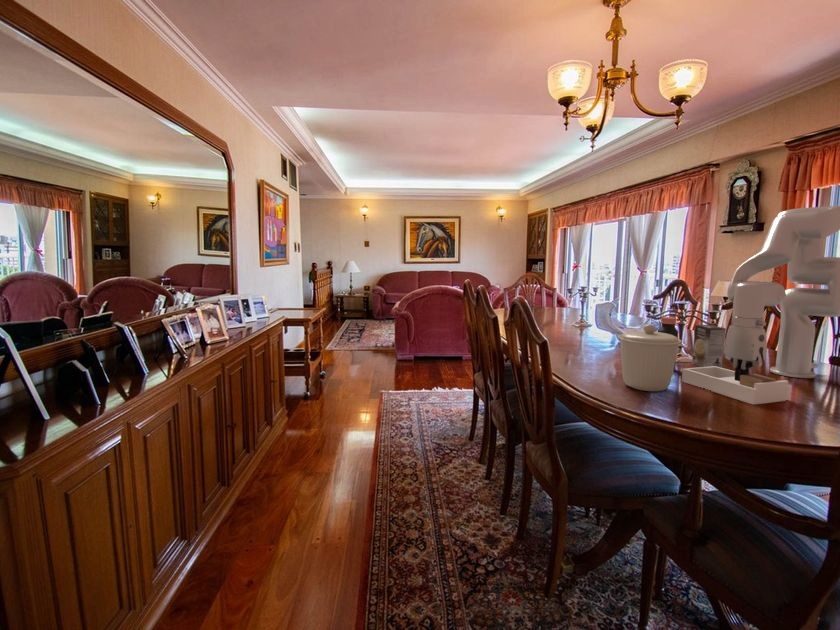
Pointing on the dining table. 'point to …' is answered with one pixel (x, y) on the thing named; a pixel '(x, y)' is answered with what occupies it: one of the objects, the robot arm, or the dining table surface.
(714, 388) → the box
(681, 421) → the dining table surface
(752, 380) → the walnut block
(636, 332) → the canister
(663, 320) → the bottle
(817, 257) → the robot arm
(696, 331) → the coffee box
